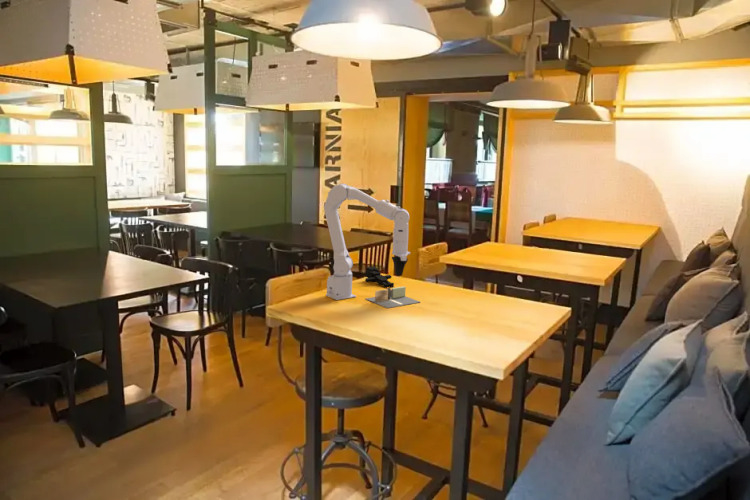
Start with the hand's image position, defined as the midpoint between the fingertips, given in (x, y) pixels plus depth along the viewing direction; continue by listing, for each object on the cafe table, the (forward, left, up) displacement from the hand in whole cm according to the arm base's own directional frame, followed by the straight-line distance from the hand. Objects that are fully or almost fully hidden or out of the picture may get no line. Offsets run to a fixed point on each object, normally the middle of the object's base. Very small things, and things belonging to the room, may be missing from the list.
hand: (398, 275), depth 210 cm
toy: (+9, +24, -10) cm, 28 cm away
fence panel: (+2, +2, -9) cm, 10 cm away
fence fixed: (-6, +2, -10) cm, 12 cm away
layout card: (-2, 0, -10) cm, 10 cm away
